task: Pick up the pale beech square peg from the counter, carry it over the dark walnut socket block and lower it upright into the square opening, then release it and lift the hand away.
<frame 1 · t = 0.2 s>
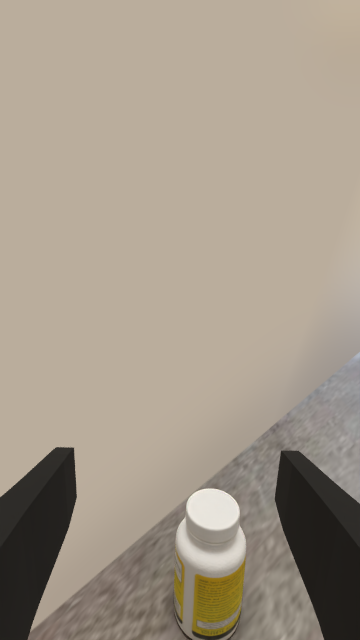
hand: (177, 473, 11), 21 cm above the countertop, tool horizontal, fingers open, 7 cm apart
supplement bottle: (206, 610, 27), on the countertop
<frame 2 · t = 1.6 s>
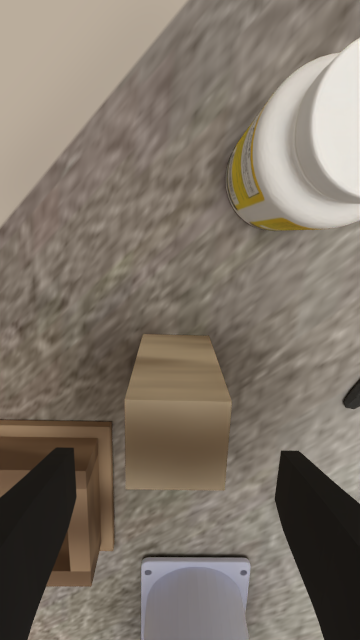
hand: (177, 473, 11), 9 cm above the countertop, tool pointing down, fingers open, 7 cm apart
supplement bottle: (272, 178, 18), on the countertop
peg: (175, 365, 21), on the countertop
cup socket: (39, 485, 23), on the countertop
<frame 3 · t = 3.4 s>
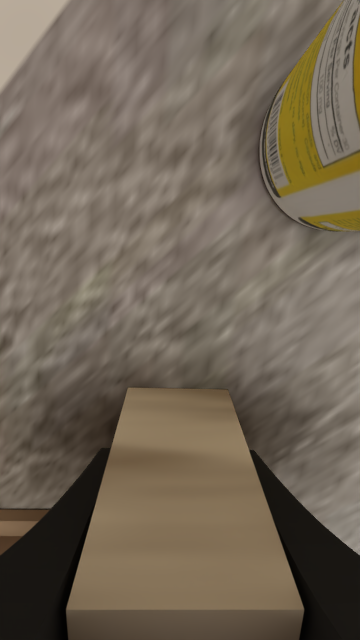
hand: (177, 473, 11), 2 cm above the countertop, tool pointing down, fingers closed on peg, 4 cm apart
supplement bottle: (333, 148, 11), on the countertop
peg: (176, 432, 14), on the countertop, touching gripper
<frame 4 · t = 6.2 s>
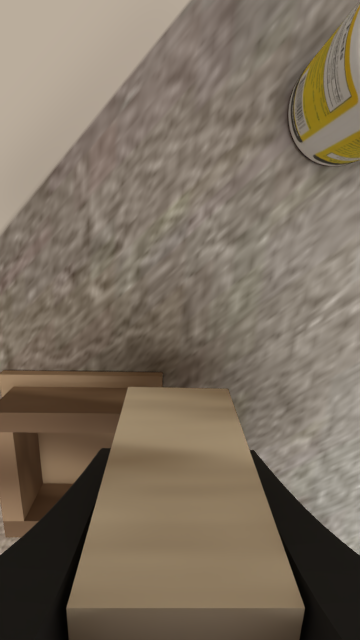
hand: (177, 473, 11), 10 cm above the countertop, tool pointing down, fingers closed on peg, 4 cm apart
supplement bottle: (334, 112, 18), on the countertop
peg: (176, 431, 14), point 7 cm above the countertop, touching gripper
cup socket: (87, 439, 22), on the countertop
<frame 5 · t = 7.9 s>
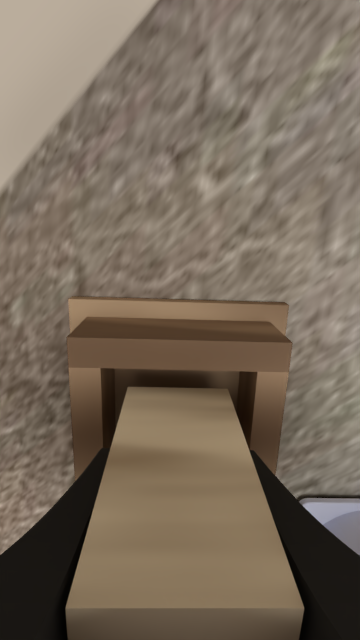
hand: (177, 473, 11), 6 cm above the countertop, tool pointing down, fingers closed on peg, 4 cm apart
peg: (176, 431, 14), point 3 cm above the countertop, touching gripper
cup socket: (176, 395, 17), on the countertop
when the fingers open (4 cm above the countertop, at t = 9.2 s): peg drops 1 cm, resting on cup socket.
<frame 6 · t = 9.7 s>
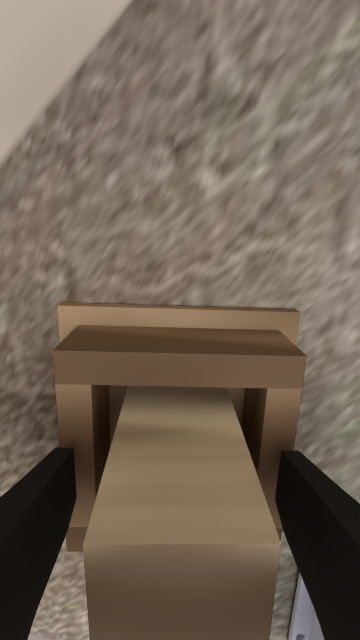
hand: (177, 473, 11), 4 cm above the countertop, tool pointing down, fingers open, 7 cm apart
peg: (176, 416, 15), point 1 cm above the countertop, touching cup socket
cup socket: (176, 409, 15), on the countertop
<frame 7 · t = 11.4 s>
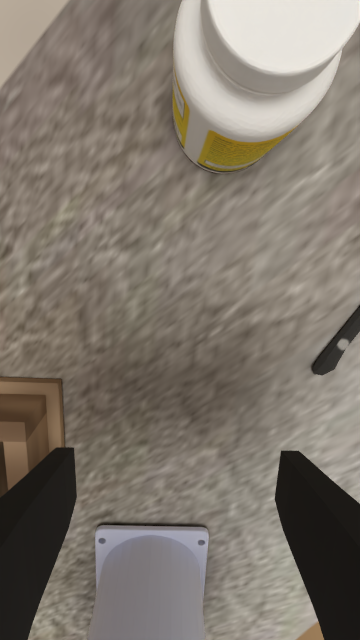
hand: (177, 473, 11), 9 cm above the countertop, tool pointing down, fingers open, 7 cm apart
supplement bottle: (224, 119, 17), on the countertop
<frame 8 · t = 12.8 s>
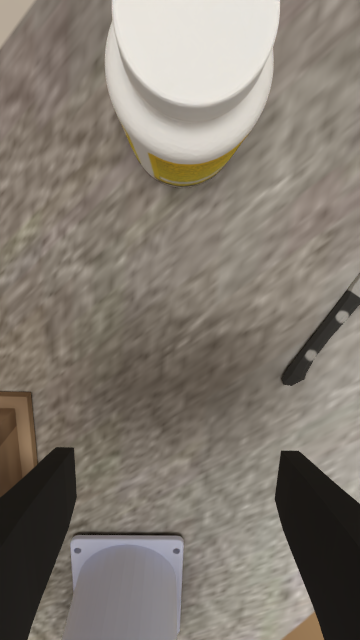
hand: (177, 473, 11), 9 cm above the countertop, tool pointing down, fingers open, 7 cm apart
supplement bottle: (182, 133, 17), on the countertop
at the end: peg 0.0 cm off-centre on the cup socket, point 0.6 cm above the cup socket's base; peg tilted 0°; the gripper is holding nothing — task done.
